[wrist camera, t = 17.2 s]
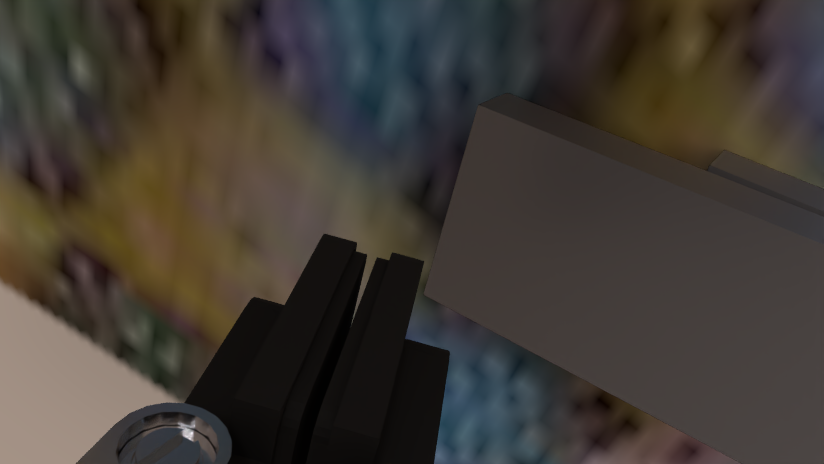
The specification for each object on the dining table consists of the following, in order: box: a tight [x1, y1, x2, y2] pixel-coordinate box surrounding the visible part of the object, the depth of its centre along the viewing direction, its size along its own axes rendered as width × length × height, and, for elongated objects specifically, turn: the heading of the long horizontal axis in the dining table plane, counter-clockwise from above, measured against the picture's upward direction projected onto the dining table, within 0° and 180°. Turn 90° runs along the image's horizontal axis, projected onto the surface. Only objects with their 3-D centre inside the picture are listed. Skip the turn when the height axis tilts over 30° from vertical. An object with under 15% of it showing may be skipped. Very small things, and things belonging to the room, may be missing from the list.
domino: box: [423, 93, 824, 464], centre depth 15 cm, size 2×5×10 cm
